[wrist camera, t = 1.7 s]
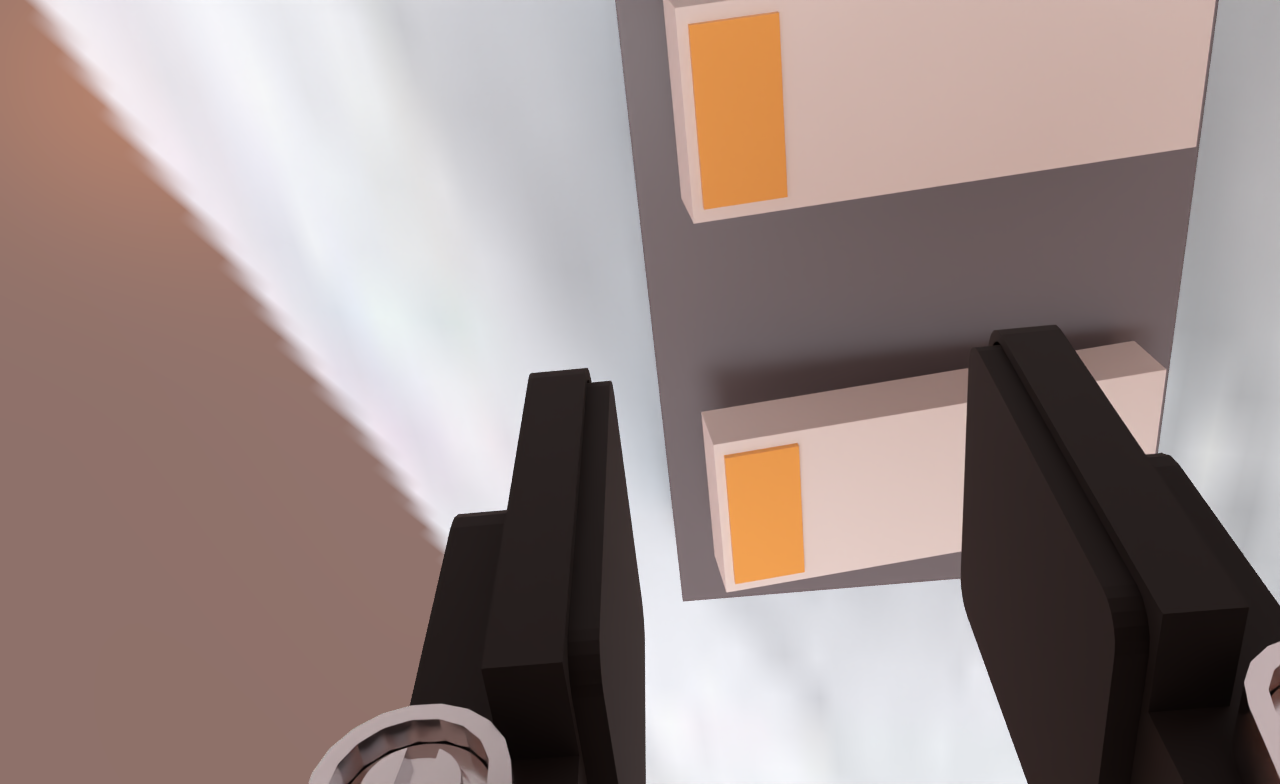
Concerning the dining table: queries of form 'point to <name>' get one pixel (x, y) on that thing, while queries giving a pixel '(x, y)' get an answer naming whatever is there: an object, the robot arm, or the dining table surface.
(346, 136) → the dining table surface
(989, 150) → the rocker middle
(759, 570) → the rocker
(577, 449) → the robot arm
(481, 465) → the dining table surface
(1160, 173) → the grey switch panel
